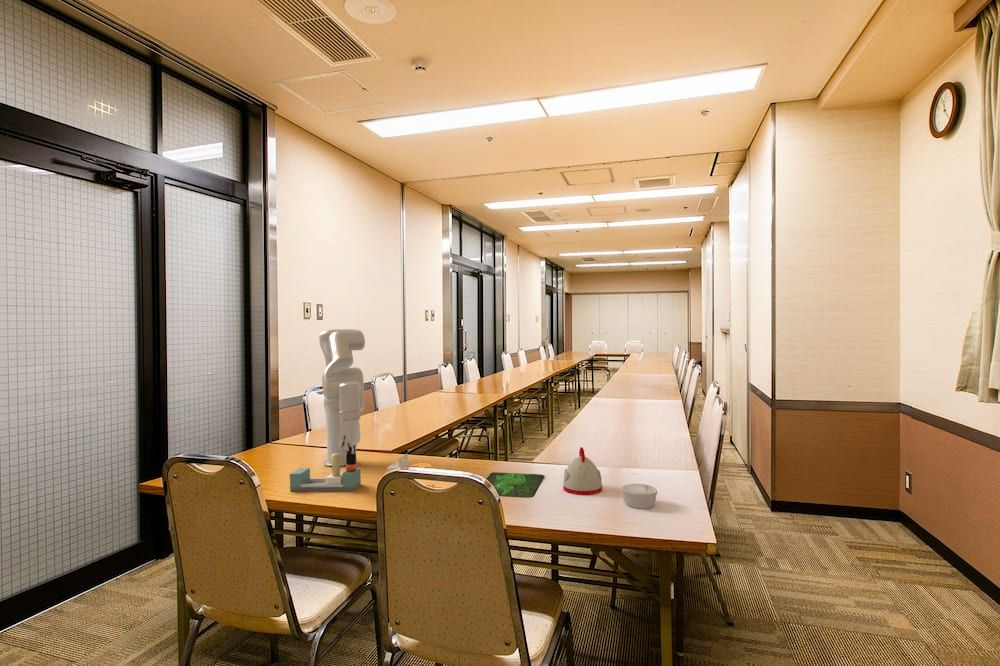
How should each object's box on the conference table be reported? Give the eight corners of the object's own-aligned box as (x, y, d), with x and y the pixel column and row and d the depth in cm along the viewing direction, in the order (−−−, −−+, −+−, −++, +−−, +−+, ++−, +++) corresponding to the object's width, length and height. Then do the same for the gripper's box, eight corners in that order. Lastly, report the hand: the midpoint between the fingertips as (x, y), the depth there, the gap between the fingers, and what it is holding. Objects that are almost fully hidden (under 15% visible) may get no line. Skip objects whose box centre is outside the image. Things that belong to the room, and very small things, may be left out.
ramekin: (665, 507, 163) (664, 490, 163) (636, 513, 159) (636, 496, 159) (642, 497, 173) (641, 481, 173) (615, 502, 169) (614, 486, 169)
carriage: (331, 480, 195) (330, 452, 195) (346, 480, 194) (346, 452, 194) (325, 485, 189) (324, 456, 189) (340, 485, 188) (340, 456, 188)
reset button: (348, 467, 193) (348, 462, 193) (358, 467, 193) (358, 462, 193) (344, 470, 189) (344, 465, 189) (354, 470, 189) (354, 465, 189)
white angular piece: (397, 493, 183) (396, 452, 183) (410, 493, 182) (409, 453, 182) (387, 501, 175) (386, 458, 175) (400, 502, 174) (399, 459, 174)
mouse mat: (533, 499, 175) (533, 496, 175) (472, 495, 180) (471, 493, 180) (545, 476, 201) (544, 473, 201) (491, 474, 206) (491, 471, 206)
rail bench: (300, 484, 197) (299, 467, 197) (360, 484, 195) (360, 467, 195) (290, 491, 189) (289, 473, 189) (353, 491, 187) (352, 473, 187)
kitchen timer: (565, 496, 176) (564, 452, 176) (561, 483, 190) (560, 443, 190) (605, 495, 176) (604, 452, 176) (598, 483, 190) (597, 443, 190)
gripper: (347, 412, 199) (348, 459, 199) (332, 419, 184) (333, 469, 184) (366, 412, 198) (367, 458, 198) (352, 418, 183) (353, 469, 183)
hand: (351, 463), depth 191 cm, fingers closed
